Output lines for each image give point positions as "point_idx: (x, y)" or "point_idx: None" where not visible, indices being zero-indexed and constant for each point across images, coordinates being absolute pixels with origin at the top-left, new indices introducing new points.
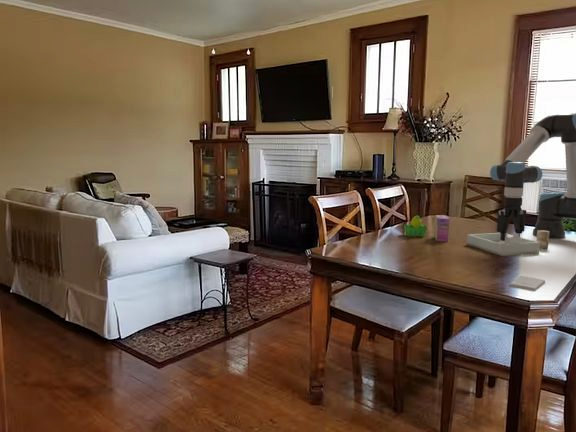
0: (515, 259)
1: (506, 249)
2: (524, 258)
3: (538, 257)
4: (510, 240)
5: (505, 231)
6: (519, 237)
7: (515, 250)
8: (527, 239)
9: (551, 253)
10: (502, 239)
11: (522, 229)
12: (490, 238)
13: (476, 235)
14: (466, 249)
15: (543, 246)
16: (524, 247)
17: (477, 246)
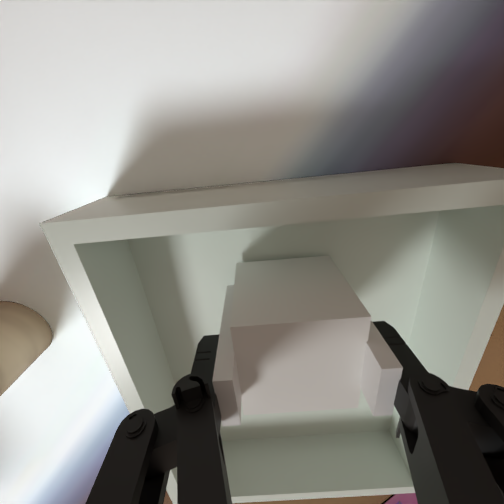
0: (452, 10)
1: (444, 173)
2: (339, 37)
3: (186, 55)
4: (339, 297)
5: (433, 405)
6: (230, 323)
7: (335, 180)
8: (110, 347)
9: (5, 181)
10: (395, 330)
11: (144, 441)
12: (264, 458)
13: (367, 480)
14: (492, 349)
15: (3, 314)
16: (242, 194)
17: None
